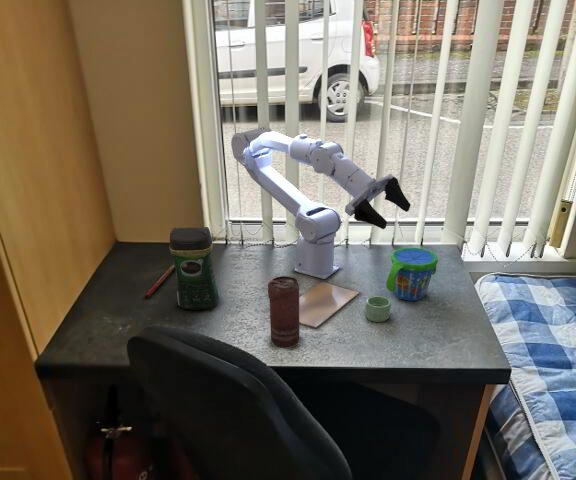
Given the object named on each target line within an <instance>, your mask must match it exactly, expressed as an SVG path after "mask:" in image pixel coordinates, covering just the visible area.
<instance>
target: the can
mask: <svg viewBox="0 0 576 480" xmlns="http://www.w3.org/2000/svg"><path fill="white" fill-rule="evenodd" d="M267 296H268V299H269V323H270V325H269V326H270V327H269V328H270V341H271V342H272V344H273V345H274V346H275V347H277V348H282V349H288V348H292V347H295V346H296V345H297V344H298V343H299V342H300V323H299V297H300V283H299V282H298V279H297V278H295V277H293V276H289V275H281V276H276V277H274V278H272V279H271V280H269V281H268V283H267Z"/></svg>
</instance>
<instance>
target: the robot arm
mask: <svg viewBox="0 0 576 480" xmlns="http://www.w3.org/2000/svg"><path fill="white" fill-rule="evenodd" d="M261 127H262V128H263V129H262V128H260V127H257V128H255V129H251V130H247V131H242V132H236V133H234V134H233V135H232V137H231V139H230V140H231V142H230V146H231V151H232V156H233V158H234V159H235V160H236V162H238V163H239V164H240V165H241V166H243V168H245V170H246V172H247V173H248V175H249V177H250V178H251V179H252V180H253V181H254V182H255V183H256V184H257V185H259V186H260V187H261V188H262V189H263V190H264V191H265V192H266V193H268V194H269V195H270V197H272V198H273V199H274V200H275V201H276V202H278V203H279V204H280V205H281V206H282V207H283V208H285V209H286V210H287V211H288V212H289V213H290V214H291V215H293V217H294V218H295V219H294V227H295V228H296V229H297V230H298V231H299V232H300V236H299V237H298V239H297V242H296V245H295V268H294V272H297V273H300V274H304V275H307V276H311V277H315V278H318V279H322V280H326V279H328V278H329V277H330V276H331V275H333V274H334V273H336V272H337V271H338V270H340V266H338V265H334V261H335V259H334V256H335V238H336V236H337V232H338V231H339V230H340V229H341V226H342V219H341V216H340V215H341V214H339V212H338V211H337V210H336V209H334V208H333V207H329V206H327V205H325V204H324V203H321V202H316V201H312V200H310V199H309V197H307V196H306V195H305V194H303V193H302V191H300V190H298V188H296V186H294V185H293V184H292V183H291V182H289V180H287V179H286V178H285V177H283V176H282V175H281V174H280V173H279V172H277V170H276V169H274V168H273V167H272V163H273V152H274V151H277V152H281V153H285V154H288V155H289V157H290V159H291V160H292V161H294V162H296V163H297V162H298V163H300V164H304V165H307V166H309V167H312V168H313V171H314V172H315V173H316V174H320V175H321V174H323V175H325V176H326V177H329V178H330V179H331V180H333V181H334V182H335V183H336V184H337V185H338V186H339V187H340V188H342V189H343V190H344V191H345V192H346V193H348V194H349V195H350V196H351V197H352V199H351V200H350V201H349V202H348V203H347V204H346V205H345V207H344V212H345V213H346V214H347V215H348V216H349V217H352V216H353V219H354V220H355V221H356V222H363V223H366V224H370V225H373V226H375V227H377V228H380V229H381V230H385V229H386V227H387V224H388V221H387V220H386V219H385V218H384V217H383V216H382V215H381V214H380V213H379V212H378V211H377V210H376V209H375V208H374V207H373V205H372V204H371V203H370V202H371V201H372V200H374V199H375V198H376V197H377V196H379V195H381V194H382V193H383V192H384V194H385V195H384V200H386V201H389V202H391V203H393V204H395V205H396V206H397V207H398V208H400V209H401V210H402V211H404V212H405V213H408V212H409V211H410V209H411V206H412V204H411V203H410V202H409V200H408V199H407V197H406V195H405V194H404V192H403V191H402V187H401V186H400V183H399V180H398V178H397V177H395V175H393V174H392V173H389V174H388V175H386V176H383V177H380V178H378V179H376V178H375V177H371V176H370V175H369V174H367V173H366V171H364V170H363V169H362V168H360V166H358V165H357V164H355V163H354V161H352V160H351V159H349V157H347V156H346V155H345V151H344V148H343V147H342V146H341V144H339V143H338V142H336V141H335V140H332V141H328V142H327V143H325V142H323V140H322V139H313V138H309V137H308V135H307V134H305V133H302V134H299V135H296V136H295V137H293V138H291V137H289V136H286V135H284V134H282V133H279V132H276V131H274V130H272V129H271V128H270V127H264V126H261ZM261 153H262V155H261V156H260V154H261Z"/></svg>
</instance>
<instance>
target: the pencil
mask: <svg viewBox="0 0 576 480" xmlns="http://www.w3.org/2000/svg"><path fill="white" fill-rule="evenodd" d="M175 268H176V267H175V264H172V265H171V266H170V267H168V269H167V270H166V271H165V272H164V273H163V275H161V277H160V278H159V279H158V280H157V281H156V282H155V283H154V285H153V286H152V287H150V289H149V290H148V291H147V292H146V293H145V294H144V297H145V298H147V299H149V298H150V297H151V296H152V294H153V293H154V292H155V291H156V290H157V289H158V288H159V286H160V285H161V284H162V283H163V282H164V281H165V280H166V278H167V277H168V276H169V275H170V274H171V273H172V272H173V270H174V269H175Z"/></svg>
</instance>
